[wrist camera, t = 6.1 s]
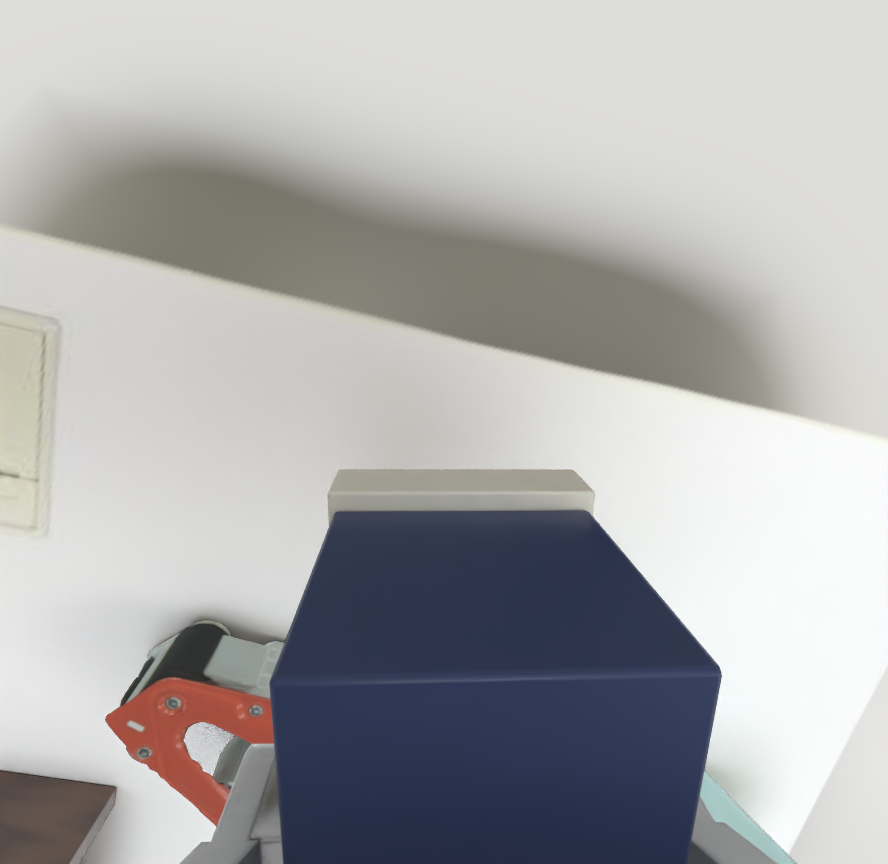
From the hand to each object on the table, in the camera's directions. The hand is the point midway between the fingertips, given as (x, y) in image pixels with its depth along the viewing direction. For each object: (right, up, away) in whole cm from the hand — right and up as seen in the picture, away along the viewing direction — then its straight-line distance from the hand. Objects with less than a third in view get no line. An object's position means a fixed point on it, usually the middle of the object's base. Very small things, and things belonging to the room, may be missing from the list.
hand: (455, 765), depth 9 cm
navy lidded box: (0, 0, +2) cm, 2 cm away
